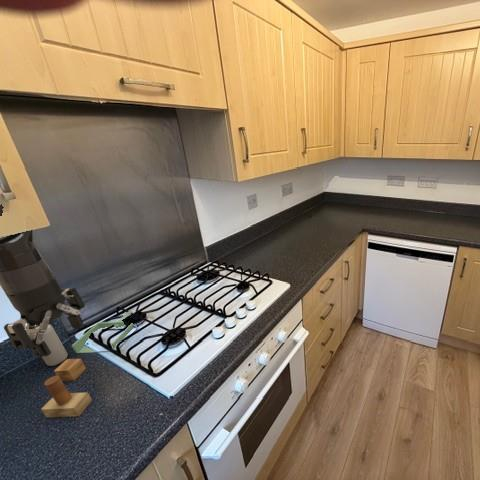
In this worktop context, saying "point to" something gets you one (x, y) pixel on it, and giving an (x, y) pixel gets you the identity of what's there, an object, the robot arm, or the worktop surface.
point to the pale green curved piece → (80, 344)
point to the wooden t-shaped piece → (64, 400)
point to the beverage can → (53, 347)
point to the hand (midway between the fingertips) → (63, 340)
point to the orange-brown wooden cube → (70, 369)
